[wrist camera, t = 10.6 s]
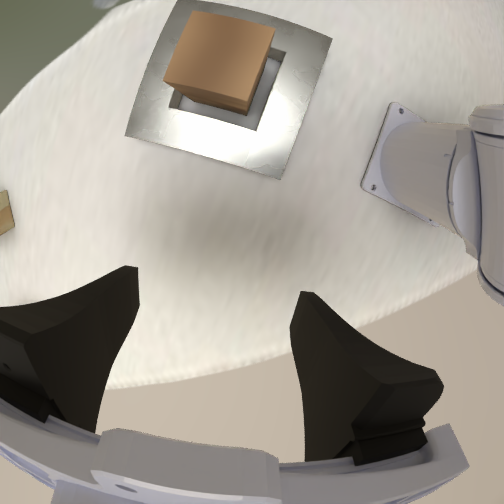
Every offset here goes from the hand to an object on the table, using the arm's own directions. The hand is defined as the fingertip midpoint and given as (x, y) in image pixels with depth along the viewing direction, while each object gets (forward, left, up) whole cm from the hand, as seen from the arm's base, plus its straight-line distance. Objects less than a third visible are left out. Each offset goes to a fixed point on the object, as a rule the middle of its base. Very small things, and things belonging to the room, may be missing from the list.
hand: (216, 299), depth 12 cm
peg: (+3, -10, -10) cm, 15 cm away
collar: (+3, -10, -10) cm, 15 cm away
